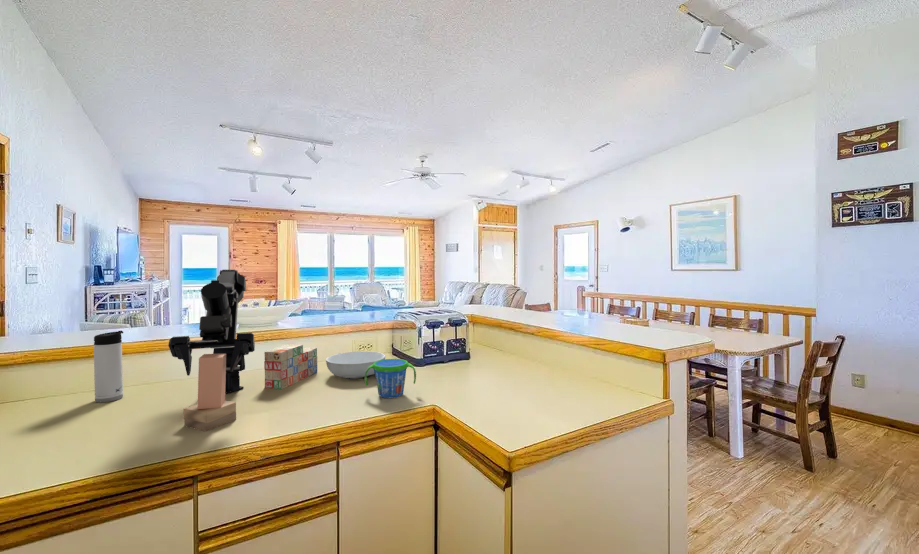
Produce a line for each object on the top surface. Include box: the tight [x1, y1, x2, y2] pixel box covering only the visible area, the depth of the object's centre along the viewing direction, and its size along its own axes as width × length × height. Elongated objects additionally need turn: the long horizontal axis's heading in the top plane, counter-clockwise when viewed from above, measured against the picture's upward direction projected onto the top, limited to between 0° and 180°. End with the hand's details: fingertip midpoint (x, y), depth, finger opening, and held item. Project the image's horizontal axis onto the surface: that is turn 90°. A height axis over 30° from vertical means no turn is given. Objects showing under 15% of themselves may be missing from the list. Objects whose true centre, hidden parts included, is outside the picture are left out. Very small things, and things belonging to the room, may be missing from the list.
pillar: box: [197, 353, 226, 409], centre depth 101 cm, size 5×5×12 cm
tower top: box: [182, 400, 237, 423], centre depth 101 cm, size 8×8×2 cm
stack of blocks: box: [263, 343, 318, 390], centre depth 139 cm, size 21×6×12 cm, turn 169°
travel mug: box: [93, 330, 124, 403], centre depth 118 cm, size 6×7×20 cm
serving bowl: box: [325, 350, 386, 380], centre depth 145 cm, size 21×21×7 cm
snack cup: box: [364, 358, 417, 399], centre depth 123 cm, size 16×10×10 cm
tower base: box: [183, 411, 237, 432], centre depth 101 cm, size 8×8×2 cm
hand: (209, 372), depth 99 cm, fingers open, 9 cm apart
